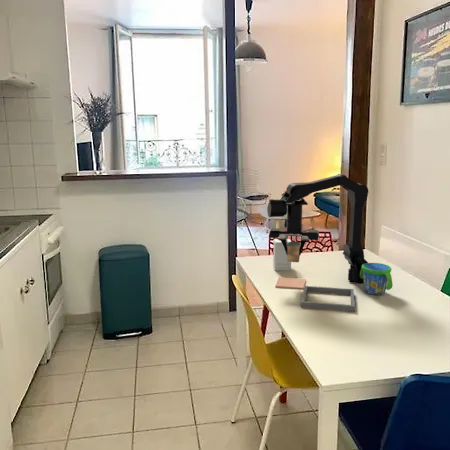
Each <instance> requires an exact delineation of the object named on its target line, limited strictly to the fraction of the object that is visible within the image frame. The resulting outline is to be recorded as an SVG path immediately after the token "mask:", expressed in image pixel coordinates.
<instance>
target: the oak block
mask: <svg viewBox="0 0 450 450" xmlns="http://www.w3.org/2000/svg"><path fill="white" fill-rule="evenodd" d="M300 244H301V241H299V242H298V241H291V242H288V252H287V262H291V263H299V262H300V256H301V255H300V256H299V250H300Z"/></svg>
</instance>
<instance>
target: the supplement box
mask: <svg viewBox="0 0 450 450" xmlns="http://www.w3.org/2000/svg"><path fill="white" fill-rule="evenodd" d="M278 239H279V238H273V255H272V256H273V260H272V263H273V265H272V266H273V269H274V271H291V270H292V262H287V254H286V251H285V249H284V246H283V244H282V242H281V241H280V240H278ZM288 242H292V241H291V239H290V238H287V243H288Z"/></svg>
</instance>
